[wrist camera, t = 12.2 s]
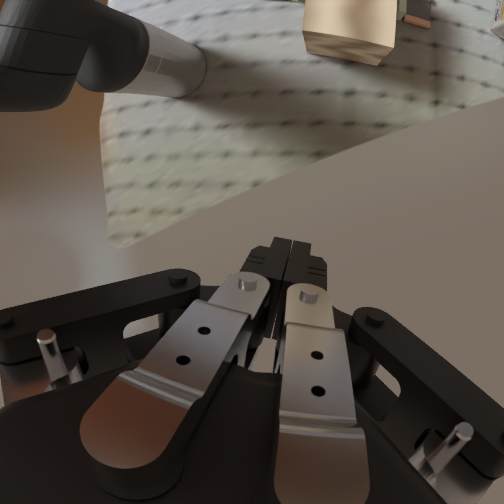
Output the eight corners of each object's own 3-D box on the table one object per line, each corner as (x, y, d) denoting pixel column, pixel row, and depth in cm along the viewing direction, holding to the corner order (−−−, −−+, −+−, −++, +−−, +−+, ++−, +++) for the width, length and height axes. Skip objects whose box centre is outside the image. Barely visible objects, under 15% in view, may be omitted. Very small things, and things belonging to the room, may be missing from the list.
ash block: (307, 52, 39) (302, 30, 28) (316, -25, 33) (312, -63, 22) (376, 66, 37) (393, 47, 26) (382, -13, 31) (397, -48, 21)
